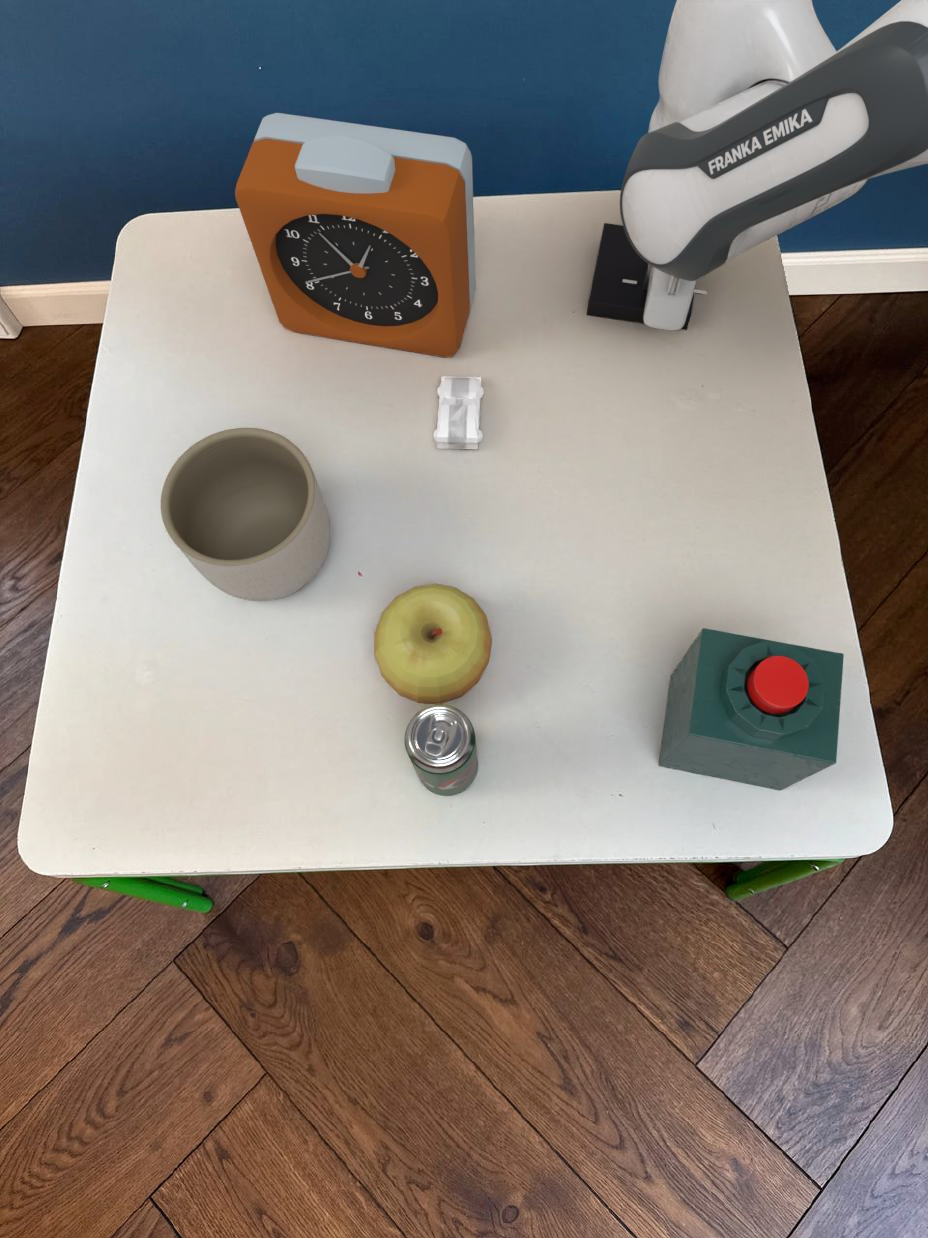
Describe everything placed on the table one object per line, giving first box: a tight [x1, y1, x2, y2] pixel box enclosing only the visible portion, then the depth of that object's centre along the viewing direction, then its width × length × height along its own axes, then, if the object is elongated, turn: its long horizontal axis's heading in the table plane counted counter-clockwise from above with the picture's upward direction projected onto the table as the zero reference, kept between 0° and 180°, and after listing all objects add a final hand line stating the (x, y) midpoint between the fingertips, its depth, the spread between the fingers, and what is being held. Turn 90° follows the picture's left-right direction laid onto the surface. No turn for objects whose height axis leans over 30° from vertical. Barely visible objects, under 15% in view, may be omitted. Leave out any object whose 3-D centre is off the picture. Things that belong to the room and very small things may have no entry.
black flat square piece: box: [586, 222, 708, 331], centre depth 87 cm, size 11×11×2 cm
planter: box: [160, 427, 331, 602], centre depth 74 cm, size 12×12×11 cm
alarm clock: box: [234, 112, 477, 358], centre depth 78 cm, size 18×9×21 cm, turn 77°
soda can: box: [404, 703, 479, 797], centre depth 67 cm, size 5×5×12 cm
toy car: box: [432, 375, 485, 450], centre depth 83 cm, size 5×8×2 cm, turn 177°
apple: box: [373, 583, 493, 705], centre depth 72 cm, size 10×10×8 cm
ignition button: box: [747, 656, 809, 714], centre depth 59 cm, size 4×4×2 cm
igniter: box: [658, 627, 845, 791], centre depth 66 cm, size 10×8×14 cm
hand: (666, 281), depth 85 cm, fingers closed
